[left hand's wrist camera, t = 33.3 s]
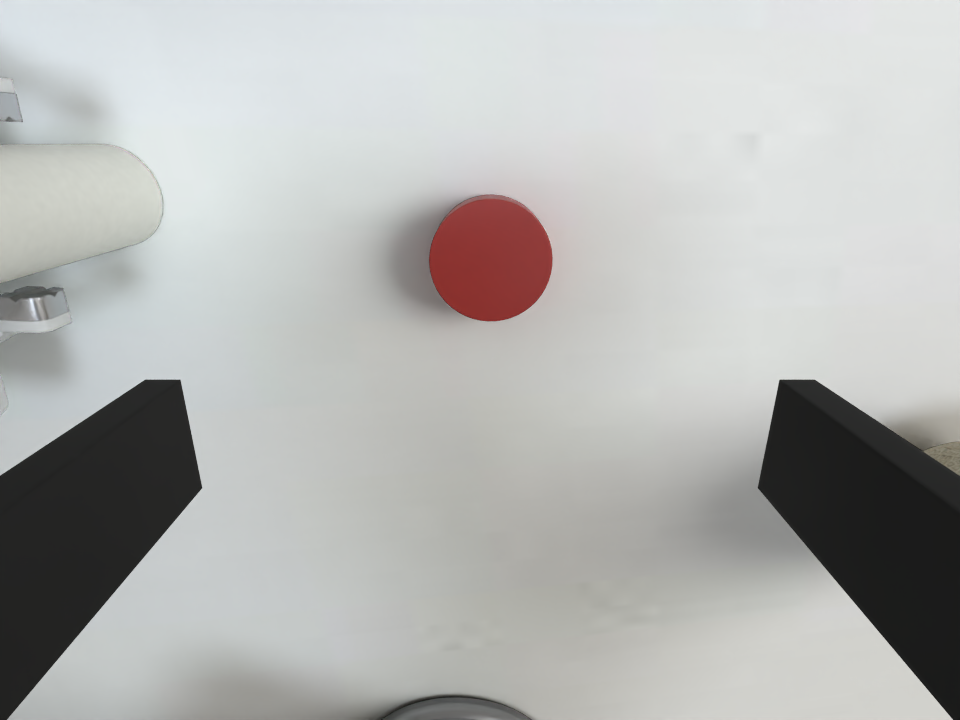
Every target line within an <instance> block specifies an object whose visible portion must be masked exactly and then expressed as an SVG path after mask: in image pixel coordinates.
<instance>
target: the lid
mask: <svg viewBox="0 0 960 720" xmlns="http://www.w3.org/2000/svg"><path fill="white" fill-rule="evenodd" d="M429 264H430V272H431V276H432V280H433V283H434V285H435V287H436V289H437V291H438V292H439V294H440V295H441V297H442V298H443V299H444V300H445V302H446V303H447V304H448V305H449V306H451V307H452V308H453V309H454V310H456V311H457V312H459V313H461V314H463V315H464V316H467V317H469V318H472V319H476V320H481V321H500V320H505V319H509V318H512V317H514V316H517V315H519V314H520V313H522V312H524V311H525V310H527V309H528V308H529V307H531V306H532V305H533V304H534V303H535V302H536V301H537V300H538V298H539V297H540V296H541V295H542V293H543V291H544V290H545V288H546V286H547V283H548V281H549V278H550V275H551V270H552V249H551V245H550V241H549V238H548V236H547V234H546V232H545V230H544V228H543V226H542V225H541V223H540V222H539V220H538V219H537V218H536V216H535V215H534V214H533V213H532V212H531V211H530V210H529V209H528V208H527V207H525V206H524V205H523V204H521V203H519V202H518V201H516V200H514V199H511V198H509V197H505V196H500V195H482V196H477V197H473V198H470V199H468V200H466V201H464V202H462V203H460V204H459V205H457V206H456V207H455V208H454V209H452V210H451V211H450V212H449V213H448V214H447V216H446V217H445V218H444V220H443V221H442V222H441V224H440V226H439V228H438V230H437V232H436V234H435V235H434V238H433V241H432V244H431V249H430V256H429Z"/></svg>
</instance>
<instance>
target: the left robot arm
mask: <svg viewBox="0 0 960 720" xmlns="http://www.w3.org/2000/svg"><path fill="white" fill-rule="evenodd" d="M201 489H202V485H201V480H200V475H199V470H198V465H197V460H196V455H195V450H194V445H193V440H192V435H191V430H190V425H189V420H188V415H187V410H186V405H185V400H184V395H183V390H182V386H181V381H180V380H144V381H143V382H141V383H140V384H138V385H137V386H135V387H134V388H132V389H131V390H129V391H128V392H126V393H125V394H123V395H122V396H120V397H119V398H117V399H116V400H114V401H113V402H111V403H110V404H108V405H106V406H105V407H103V408H102V409H100V410H99V411H97V412H96V413H94V414H93V415H91V416H90V417H88V418H87V419H85V420H84V421H82V422H81V423H79V424H78V425H76V426H75V427H73V428H72V429H70V430H69V431H67V432H66V433H64V434H63V435H61V436H60V437H58V438H57V439H55V440H54V441H52V442H51V443H49V444H48V445H46V446H45V447H43V448H42V449H40V450H38V451H37V452H35V453H34V454H32V455H31V456H29V457H28V458H26V459H25V460H23V461H22V462H20V463H19V464H17V465H16V466H14V467H13V468H11V469H10V470H8V471H7V472H5V473H4V474H2V475H1V476H0V720H7V719H8V718H9V716H10V715H11V714H12V713H13V712H14V711H15V709H16V708H17V707H18V706H19V705H20V703H21V702H22V701H23V700H24V699H25V698H26V696H27V695H28V694H29V693H30V692H31V690H32V689H33V688H34V687H35V686H36V684H37V683H38V682H39V681H40V680H41V679H42V677H43V676H44V675H45V674H46V673H47V671H48V670H49V669H50V668H51V667H52V665H53V664H54V663H55V662H56V661H57V660H58V658H59V657H60V656H61V655H62V654H63V652H64V651H65V650H66V649H67V648H68V647H69V645H70V644H71V643H72V642H73V641H74V639H75V638H76V637H77V636H78V635H79V633H80V632H81V631H82V630H83V629H84V628H85V626H86V625H87V624H88V623H89V622H90V620H91V619H92V618H93V617H94V616H95V614H96V613H97V612H98V611H99V610H100V609H101V607H102V606H103V605H104V604H105V603H106V601H107V600H108V599H109V598H110V597H111V595H112V594H113V593H114V592H115V591H116V590H117V588H118V587H119V586H120V585H121V584H122V582H123V581H124V580H125V579H126V578H127V577H128V575H129V574H130V573H131V572H132V571H133V569H134V568H135V567H136V566H137V565H138V563H139V562H140V561H141V560H142V559H143V558H144V556H145V555H146V554H147V553H148V552H149V550H150V549H151V548H152V547H153V546H154V544H155V543H156V542H157V541H158V540H159V539H160V537H161V536H162V535H163V534H164V533H165V531H166V530H167V529H168V528H169V527H170V525H171V524H172V523H173V522H174V521H175V520H176V518H177V517H178V516H179V515H180V514H181V512H182V511H183V510H184V509H185V508H186V507H187V505H188V504H189V503H190V502H191V501H192V499H193V498H194V497H195V496H196V495H197V493H198V492H199V491H200V490H201ZM758 489H759V490H760V491H761V492H762V493H763V495H764V496H765V497H766V498H767V499H768V501H769V502H770V503H771V504H772V505H773V507H774V508H775V509H776V510H777V511H778V512H779V514H780V515H781V516H782V517H783V518H784V520H785V521H786V522H787V523H788V524H789V525H790V527H791V528H792V529H793V530H794V531H795V533H796V534H797V535H798V536H799V537H800V539H801V540H802V541H803V542H804V543H805V544H806V546H807V547H808V548H809V549H810V550H811V552H812V553H813V554H814V555H815V556H816V558H817V559H818V560H819V561H820V562H821V563H822V565H823V566H824V567H825V568H826V569H827V571H828V572H829V573H830V574H831V575H832V577H833V578H834V579H835V580H836V581H837V582H838V584H839V585H840V586H841V587H842V588H843V590H844V591H845V592H846V593H847V594H848V595H849V597H850V598H851V599H852V600H853V601H854V603H855V604H856V605H857V606H858V607H859V609H860V610H861V611H862V612H863V613H864V614H865V616H866V617H867V618H868V619H869V620H870V622H871V623H872V624H873V625H874V626H875V628H876V629H877V630H878V631H879V632H880V633H881V635H882V636H883V637H884V638H885V639H886V641H887V642H888V643H889V644H890V645H891V647H892V648H893V649H894V650H895V651H896V652H897V654H898V655H899V656H900V657H901V658H902V660H903V661H904V662H905V663H906V664H907V665H908V667H909V668H910V669H911V670H912V671H913V673H914V674H915V675H916V676H917V677H918V679H919V680H920V681H921V682H922V683H923V684H924V686H925V687H926V688H927V689H928V690H929V692H930V693H931V694H932V695H933V696H934V698H935V699H936V700H937V701H938V702H939V703H940V705H941V706H942V707H943V708H944V709H945V711H946V712H947V713H948V714H949V715H950V716H951V718H952V719H953V720H960V476H959V475H958V474H956V473H955V472H953V471H952V470H950V469H949V468H947V467H946V466H944V465H943V464H941V463H940V462H938V461H937V460H935V459H934V458H932V457H931V456H929V455H928V454H926V453H925V452H923V451H922V450H920V449H918V448H917V447H915V446H914V445H912V444H911V443H909V442H908V441H906V440H905V439H903V438H902V437H900V436H899V435H897V434H896V433H894V432H893V431H891V430H890V429H888V428H887V427H885V426H884V425H882V424H881V423H879V422H878V421H876V420H875V419H873V418H872V417H870V416H869V415H867V414H866V413H864V412H863V411H861V410H860V409H858V408H857V407H855V406H854V405H852V404H850V403H849V402H847V401H846V400H844V399H843V398H841V397H840V396H838V395H837V394H835V393H834V392H832V391H831V390H829V389H828V388H826V387H825V386H823V385H822V384H820V383H819V382H817V381H816V380H780V381H779V386H778V390H777V395H776V400H775V405H774V410H773V415H772V420H771V425H770V430H769V435H768V440H767V445H766V450H765V455H764V460H763V465H762V470H761V475H760V480H759V485H758ZM382 720H531V719H530V718H528V717H527V716H525V715H524V714H522V713H520V712H518V711H516V710H514V709H511V708H509V707H507V706H504V705H501V704H498V703H494V702H490V701H486V700H480V699H473V698H457V697H453V698H439V699H431V700H426V701H422V702H418V703H414V704H411V705H408V706H406V707H403V708H401V709H399V710H397V711H395V712H393V713H391V714H389V715H388V716H386V717H385V718H384V719H382Z"/></svg>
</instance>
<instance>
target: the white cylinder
mask: <svg viewBox="0 0 960 720" xmlns="http://www.w3.org/2000/svg"><path fill="white" fill-rule="evenodd" d="M162 211H163V201H162V195H161V192H160V188H159V186H158V183H157V181H156V180H155V178H154V176H153V174H152V173H151V172H150V170H149V169H148V168H147V167H146V165H145V164H144V163H143V162H141V161H140V160H139V159H138V158H137V157H135V156H134V155H133V154H131V153H130V152H128V151H126V150H124V149H122V148H119V147H116V146H113V145H108V144H0V283H4V282H7V281H11V280H14V279H18V278H21V277H24V276H28V275H31V274H35V273H38V272H42V271H45V270H49V269H52V268H55V267H59V266H62V265H66V264H69V263H73V262H76V261H80V260H83V259H86V258H90V257H93V256H97V255H100V254H104V253H107V252H111V251H114V250H118V249H121V248H124V247H128V246H131V245H135V244H138V243H140V242H143V241H144V240H146V239H148V238H149V237H150V236H151V235H152V234H153V233H154V232H155V231H156V229H157V227H158V226H159V223H160V221H161V217H162Z"/></svg>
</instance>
